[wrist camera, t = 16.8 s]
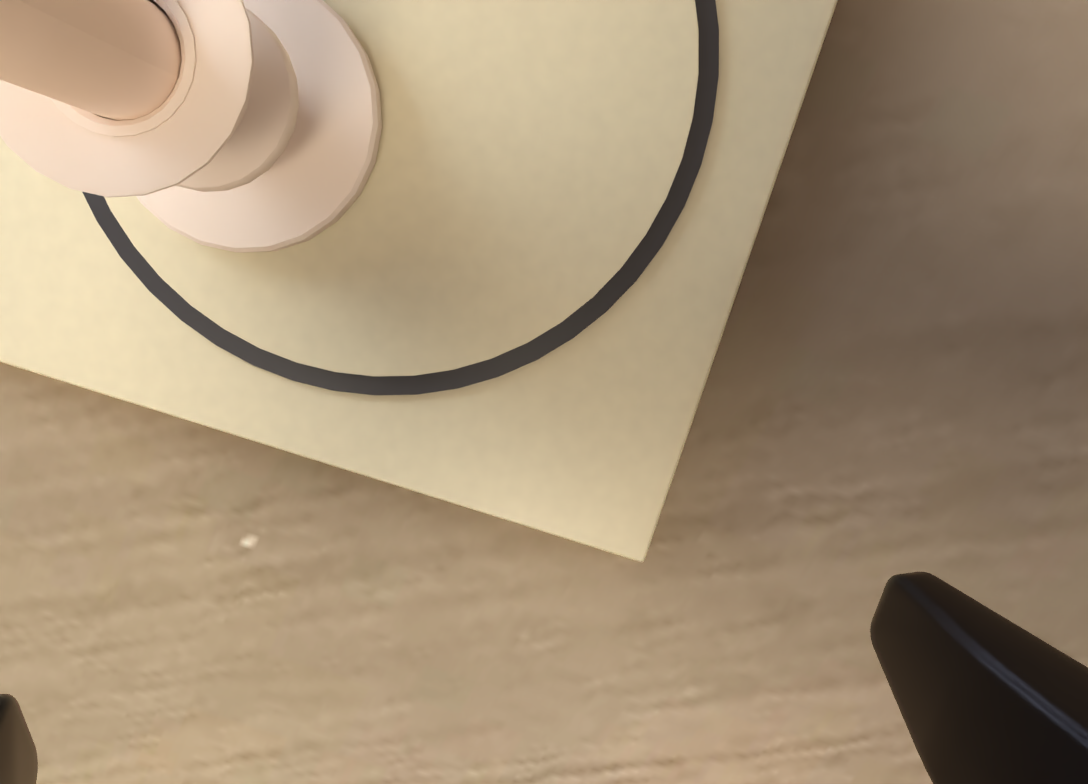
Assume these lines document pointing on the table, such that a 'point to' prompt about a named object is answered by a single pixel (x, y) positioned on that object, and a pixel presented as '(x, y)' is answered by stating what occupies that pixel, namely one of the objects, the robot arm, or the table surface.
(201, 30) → the candle
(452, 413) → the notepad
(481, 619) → the table surface
